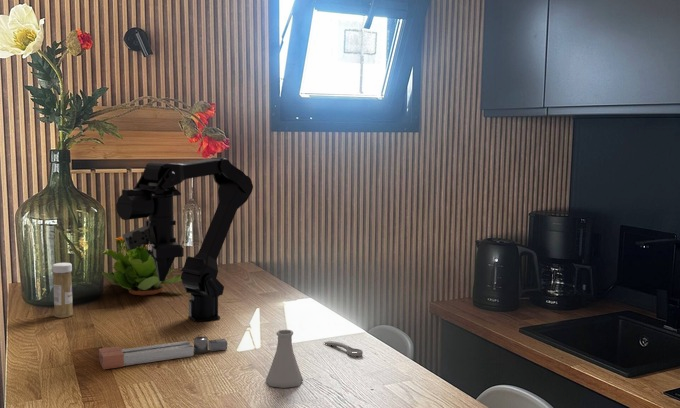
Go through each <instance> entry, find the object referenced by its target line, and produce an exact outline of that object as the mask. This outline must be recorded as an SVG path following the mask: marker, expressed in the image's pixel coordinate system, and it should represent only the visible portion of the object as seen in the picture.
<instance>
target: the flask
mask: <svg viewBox="0 0 680 408" xmlns="http://www.w3.org/2000/svg"><path fill="white" fill-rule="evenodd" d="M293 335H294V331H293V330H291V329H278V330H277V331H276V336H277V344H276V350H275V353H274V357H273V359H272V363H271V366H270V367H269V371H268V374H267V376H266V379H265V382H266V383H267V385H268V386H269V387H275V388H282V389H283V388H284V389H285V388H287V389H288V388H294V387H299V386H300V385H301V384H302V383H303V381H304V379H303V376H302V374H301V370H300V367H299V365H298V362H297V359H296V356H295V353H294V352H295V351H294V349H293V342H292V341H293V340H292V339H293V338H292V337H293Z"/></svg>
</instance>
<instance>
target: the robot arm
mask: <svg viewBox="0 0 680 408" xmlns="http://www.w3.org/2000/svg"><path fill="white" fill-rule="evenodd" d="M207 176H212V178H213V181H214V182H215V183H216V184H217V185H218V191H217V196H218V205H217V207H216V209H215V211H214V215H213V217H212V219H211V220H210V221H211V222H210V224H209V226H208V229H207V231H206V234H205V236H204V238H203V241H202V243H201V245H200V248H199V250H198V252H197V253H196V254H195V255H194V256H187V257H186V259H185V261H184V265H183V267H182V269H180V271H181V275H180V276H181V282H182V286H184V289H185V292H186V294H190V299H188V316H189V317H190V318H191V320H193V321H194V322H205V321H214V320H220V319H221V316H219V298H220V296H223V293H224V290H225V286H224V285H223V284H222V282H221V281H219V280H218V278H217V277H218V274H219V270H218V269H219V268H218V267H219V266H218V258H219V255H220V253H221V250H222V248H223V245H224V243H225V241H226V237H227V235H228V233H229V231H230V228H231V225H232V223H233V221H234V218H235V215H236V213H237V211H238V209H240V208H241V207H242V206H243V205H245V203H246V202H247V201H248V199H249V197H251V194H252V192H253V191H254V190H253V189H254V184H253V181H252V179H251V177H249V175H246V174H245V172H244V171H242V170H241V169H239V168H238V167H237V166H235V165H233V163H231V162H230V160H229V159H228V158H224V157H215V156H214V157H211V158H207V159H200V160H193V161H187V162H186V161H185V162H180V163H179V162H177V163H173V162H160V161H159V162H158V161H150V162H148V163H147V164H145V167H144V169H143V172H142V175H141V176H140V177H139V180H138V181H137V183H136V184H135V186H134V188H133V189H129V188H124V189H122V190H121V195H120V196H119V197H118V198H117V200H116V201H117V202H116V205H115V208H116V209H115V210H116V213H117V215H118V216H119V219H121V220H123V221H128V220H137V219H138V220H139V219H145V218H147V219H146V220H145V223H144V224H145V225H144V226H141V227H138V228H135V229H133V230H131V231H129V232H126V233H123V234H122V237H123V238H124V240H125V242H124V243H126V245H127V249H129V250H132V249H135V248H137V247H138V246H140V245H141V246H142V247H145V245H147V246H148V245H149V248H148V250H146V252H147V253H148V254H149V255H150V256H152V257H153V259H154V263H155V267H156V271H157V274H158V278H159V281H164V280H165V281H166V278H167V276H168V275H167V274H168V273H170V270H171V267H172V265H173V263H174V261H175V258H184V257H185V256H184V255H185V249H184V247H183V246H182V245H180V244H179V242H177V238H176V237H175V236H174V233H175V231H174V228H175V226H176V223H177V221H176V220H175V219H174V197H177V196H182V192H181V191H180V190H178V189H177V188H176V186H177V185H180V184H182V183H183V182H184V181H185V180H189V179H194V178H200V177H207ZM126 245H125V246H126ZM129 250H128V251H129Z"/></svg>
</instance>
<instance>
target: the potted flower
mask: <svg viewBox="0 0 680 408" xmlns="http://www.w3.org/2000/svg"><path fill="white" fill-rule="evenodd" d="M114 241H115V242H116V243H117V245H116V248H117V249H119V250H121V251H118V252H117V251H114V250H113V249H108V248H106V249H105V250H103V251H104V252H103V254H102V255H107V256H111V258H112V259H114V260H116V261H115V262H114V264H113V265H112V268H113V270H114V272H113V271H112V272H105V271H101V270H100V271H101V272H102V276H104V277H106V278H107V281H108V282H109V283H112V285H113V286H120V287H121V288H123V289H126V290H128V293H130V294H131V295H134V296H152V295H153V296H154V295H156V294H160V293H161V292H163V289H164V285H169V284H170V285H171V284H174V283H178V282H182V280H181V275H180V274H179V275H177V276H176V275H174V276H172V277H170V278H168V279H165V280H164V281H159V278H158V274H157V271H156V267H155V263H154V259H153V257H152V256H150V255H149V254H148V253H147V252H146V250H149V248H147V247H148V245H145V247H142V246H141V245H140V246H138V247H137V248H135V249H132V250H129V248H127V245H126V243H125V240H124V238H123V236H118V237H115V238H114ZM125 252H126V254H124V253H125ZM174 270H175V269H174V268H172V269H170V270H169V272H168V274H167V276H169V275H170V274H171V273H172V272H174Z"/></svg>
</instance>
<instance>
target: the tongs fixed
mask: <svg viewBox="0 0 680 408" xmlns="http://www.w3.org/2000/svg"><path fill="white" fill-rule="evenodd" d="M222 350H223V351H225V350H228V341H227V340H226V338H218V339H211V340H208V351H210V352H215V351H216V352H218V351H222ZM189 357H194V345H192V344H191V343H190V344H189V345H182V346H175V347H167V348H160V349H152V350H145V351H137V352H130V353H123V352H122V350H119V351H111V352H104V353H101V363H100V366H101V368H102V369H103V370H110V369H116V368H122V367H125V366H132V365H133V366H134V365H139V364H147V363H153V362H158V361H159V362H160V361H168V360H173V359H180V358H189Z"/></svg>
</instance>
